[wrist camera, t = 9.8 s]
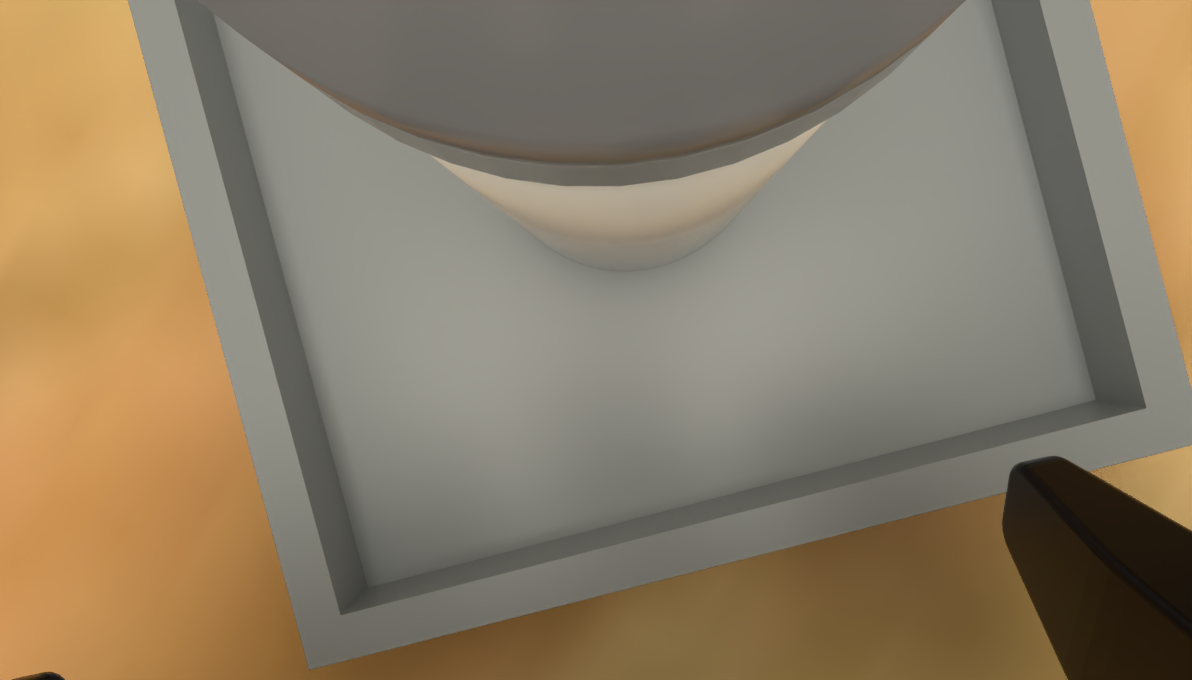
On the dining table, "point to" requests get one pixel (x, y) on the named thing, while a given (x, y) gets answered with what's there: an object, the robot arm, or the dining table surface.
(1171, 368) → the tray
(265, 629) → the dining table surface
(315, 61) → the shaker
